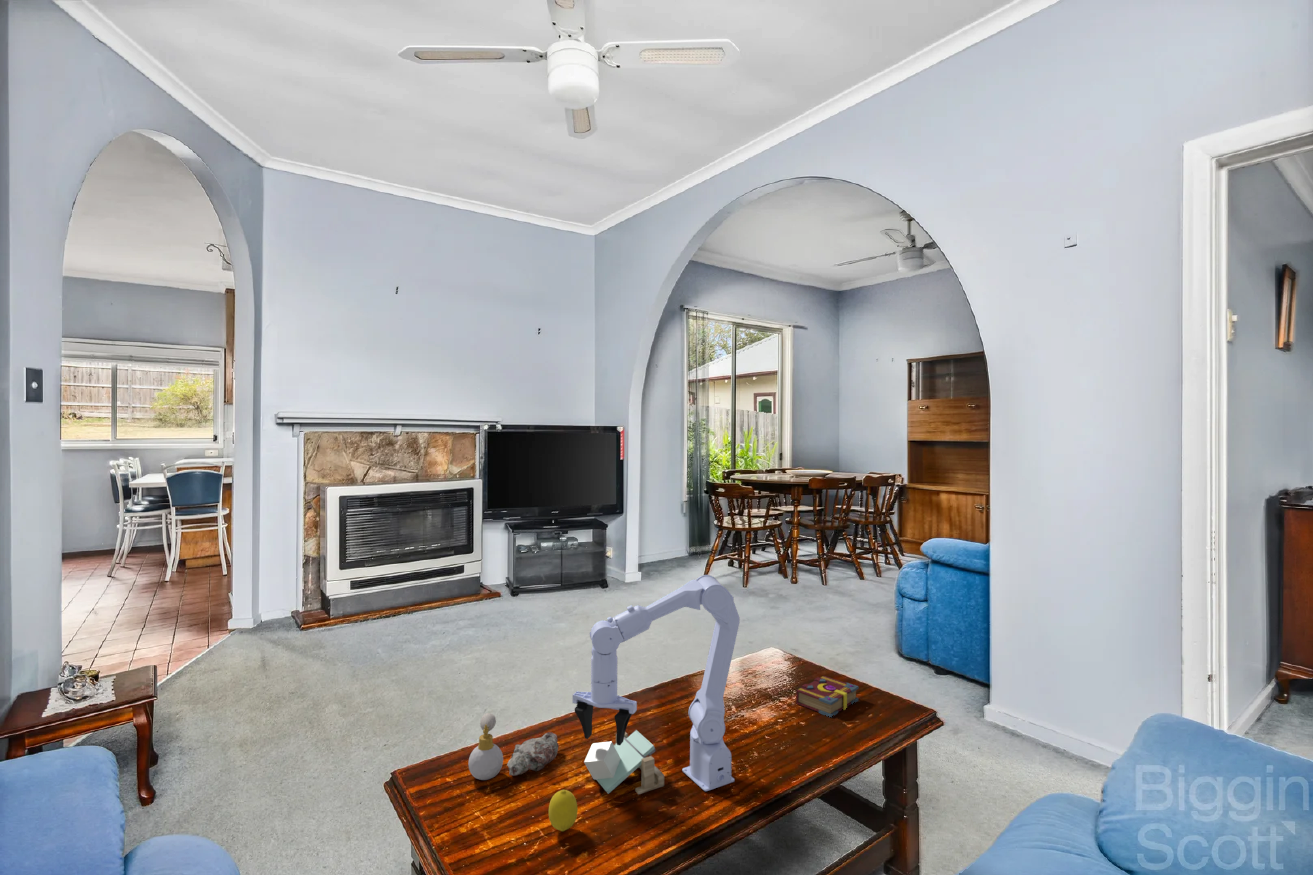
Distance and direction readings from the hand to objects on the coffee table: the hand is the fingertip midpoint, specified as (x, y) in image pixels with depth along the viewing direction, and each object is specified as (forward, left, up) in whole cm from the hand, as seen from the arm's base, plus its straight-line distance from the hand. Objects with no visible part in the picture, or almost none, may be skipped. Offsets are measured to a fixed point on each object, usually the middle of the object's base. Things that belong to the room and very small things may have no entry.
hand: (604, 739), depth 136 cm
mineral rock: (+16, +10, -10) cm, 22 cm away
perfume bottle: (+17, +22, -10) cm, 29 cm away
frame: (0, -8, -10) cm, 12 cm away
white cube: (0, -1, -7) cm, 7 cm away
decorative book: (+5, -73, -10) cm, 74 cm away
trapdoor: (0, -5, -7) cm, 9 cm away
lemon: (-10, +14, -10) cm, 20 cm away
